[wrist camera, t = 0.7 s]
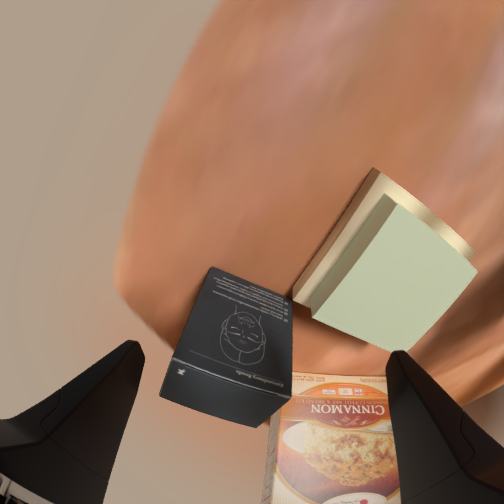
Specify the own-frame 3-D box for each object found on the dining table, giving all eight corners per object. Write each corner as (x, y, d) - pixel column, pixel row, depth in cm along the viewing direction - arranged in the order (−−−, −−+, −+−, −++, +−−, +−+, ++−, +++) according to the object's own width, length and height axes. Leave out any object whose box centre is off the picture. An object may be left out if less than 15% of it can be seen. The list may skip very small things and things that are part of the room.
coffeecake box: (398, 374, 28) (426, 518, 11) (376, 404, 32) (390, 530, 15) (281, 368, 29) (265, 539, 12) (271, 399, 33) (254, 540, 16)
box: (193, 308, 27) (156, 397, 17) (212, 263, 24) (169, 356, 15) (267, 337, 27) (256, 431, 18) (294, 298, 25) (294, 399, 15)
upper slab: (464, 256, 19) (478, 271, 16) (394, 337, 23) (401, 356, 21) (384, 193, 17) (397, 204, 15) (310, 297, 22) (311, 317, 20)
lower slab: (462, 239, 20) (475, 252, 18) (388, 329, 26) (394, 346, 24) (370, 165, 19) (380, 172, 17) (292, 283, 25) (292, 300, 22)
